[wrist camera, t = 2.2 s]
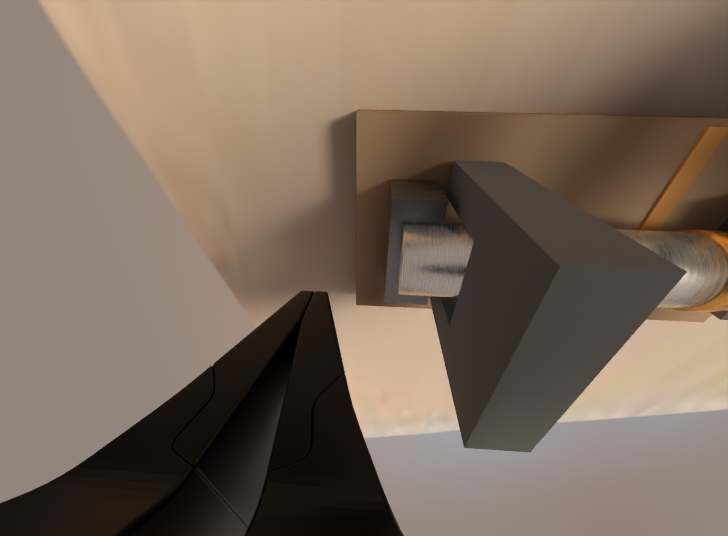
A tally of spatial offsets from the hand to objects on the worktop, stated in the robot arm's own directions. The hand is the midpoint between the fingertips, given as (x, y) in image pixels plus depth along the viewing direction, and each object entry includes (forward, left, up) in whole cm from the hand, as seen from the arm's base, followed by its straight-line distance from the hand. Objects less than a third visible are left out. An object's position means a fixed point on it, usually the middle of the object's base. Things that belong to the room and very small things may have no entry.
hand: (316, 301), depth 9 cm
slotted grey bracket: (-6, 0, -5) cm, 8 cm away
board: (-11, 0, -7) cm, 13 cm away
